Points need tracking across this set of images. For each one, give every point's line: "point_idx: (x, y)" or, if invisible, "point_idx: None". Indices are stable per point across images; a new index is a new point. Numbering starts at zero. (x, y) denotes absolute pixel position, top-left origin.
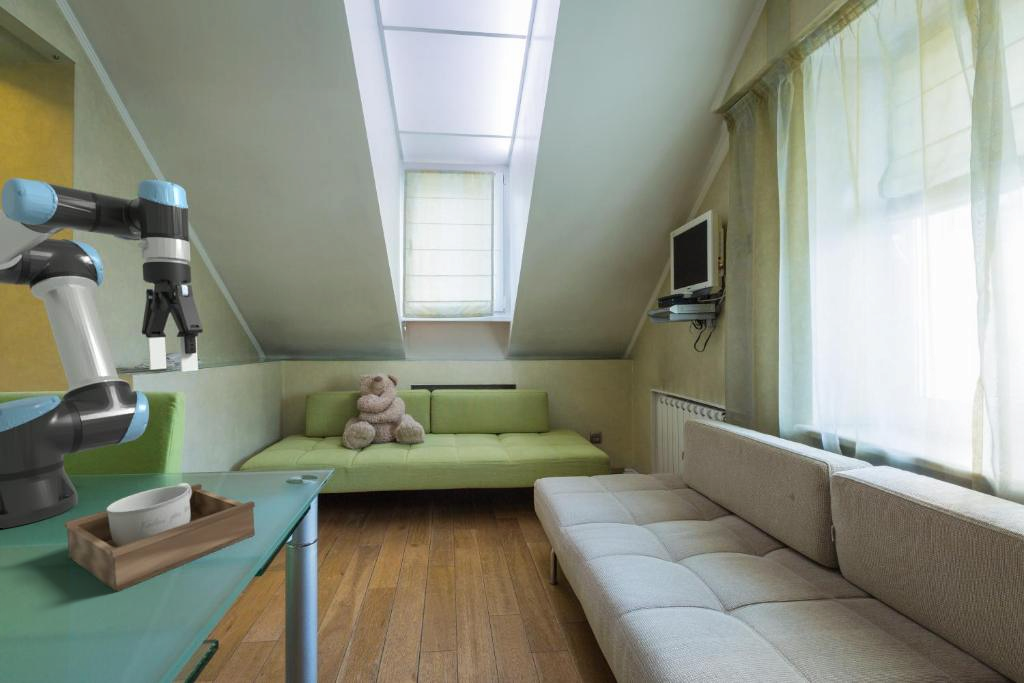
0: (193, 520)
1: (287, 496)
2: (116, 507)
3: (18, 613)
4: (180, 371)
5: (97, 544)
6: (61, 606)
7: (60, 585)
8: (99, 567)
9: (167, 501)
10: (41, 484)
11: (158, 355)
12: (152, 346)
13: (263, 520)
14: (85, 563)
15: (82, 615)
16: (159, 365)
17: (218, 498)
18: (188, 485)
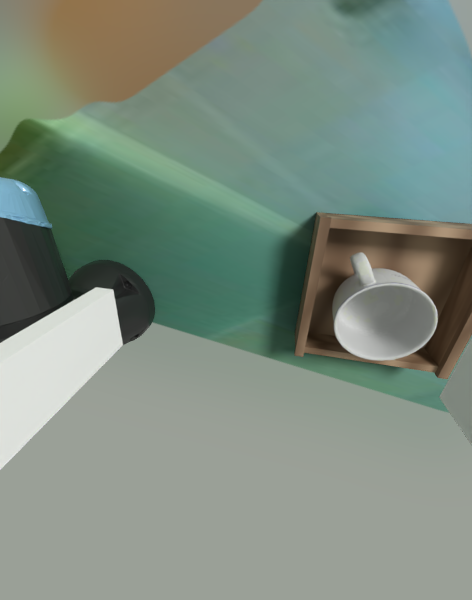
0: (352, 241)
1: (418, 81)
2: (342, 337)
3: (372, 385)
4: (444, 399)
5: (388, 364)
6: (397, 373)
7: None
8: None
9: (435, 328)
10: (123, 316)
11: (66, 359)
12: (23, 430)
13: (458, 184)
14: None
15: (433, 375)
16: (107, 324)
17: (410, 233)
18: (368, 261)
